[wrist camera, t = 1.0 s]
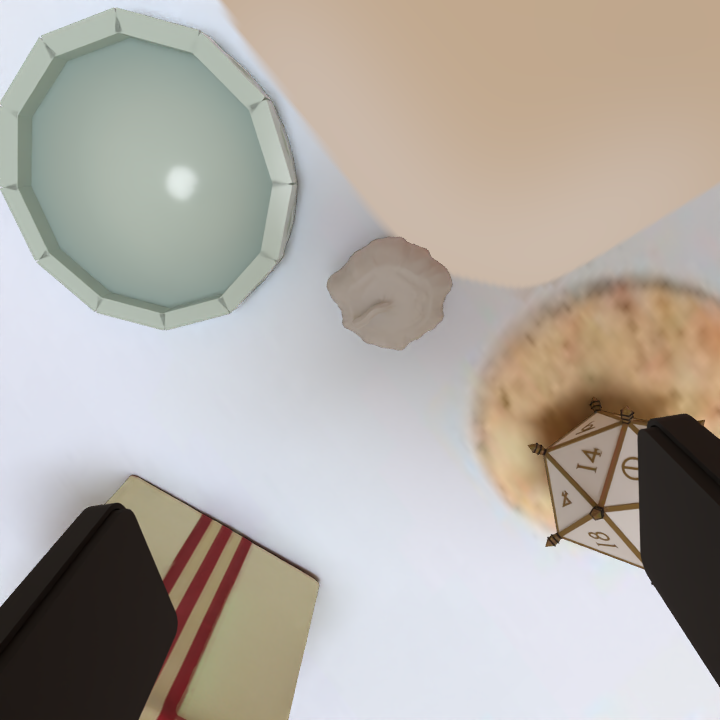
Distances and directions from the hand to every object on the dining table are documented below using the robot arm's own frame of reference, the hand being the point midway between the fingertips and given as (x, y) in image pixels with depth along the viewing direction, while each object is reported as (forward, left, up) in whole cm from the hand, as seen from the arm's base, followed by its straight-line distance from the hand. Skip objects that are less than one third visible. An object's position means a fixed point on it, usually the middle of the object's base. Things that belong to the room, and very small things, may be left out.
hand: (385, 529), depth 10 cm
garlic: (0, 0, -20) cm, 20 cm away
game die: (-9, +12, -20) cm, 24 cm away
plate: (+10, -8, -19) cm, 23 cm away
